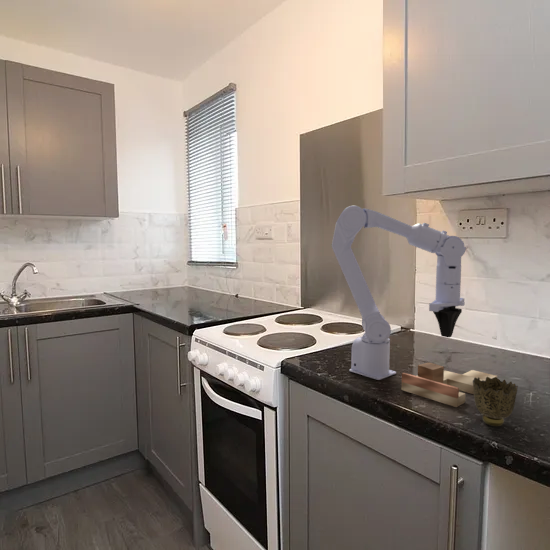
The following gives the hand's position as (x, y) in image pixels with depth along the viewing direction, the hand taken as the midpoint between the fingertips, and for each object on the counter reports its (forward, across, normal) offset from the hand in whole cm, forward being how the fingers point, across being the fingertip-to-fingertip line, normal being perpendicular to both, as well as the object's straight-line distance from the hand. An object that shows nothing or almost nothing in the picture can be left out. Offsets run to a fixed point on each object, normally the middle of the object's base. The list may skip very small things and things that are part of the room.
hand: (446, 336), depth 102 cm
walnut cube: (+8, -12, -3) cm, 15 cm away
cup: (+11, -19, -19) cm, 29 cm away
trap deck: (+10, -6, -4) cm, 13 cm away
